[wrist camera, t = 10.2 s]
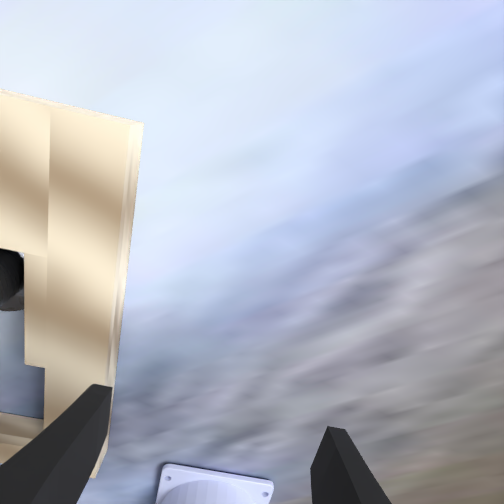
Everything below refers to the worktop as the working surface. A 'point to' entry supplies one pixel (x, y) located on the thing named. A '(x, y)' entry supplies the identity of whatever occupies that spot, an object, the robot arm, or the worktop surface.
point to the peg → (11, 280)
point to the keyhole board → (67, 245)
